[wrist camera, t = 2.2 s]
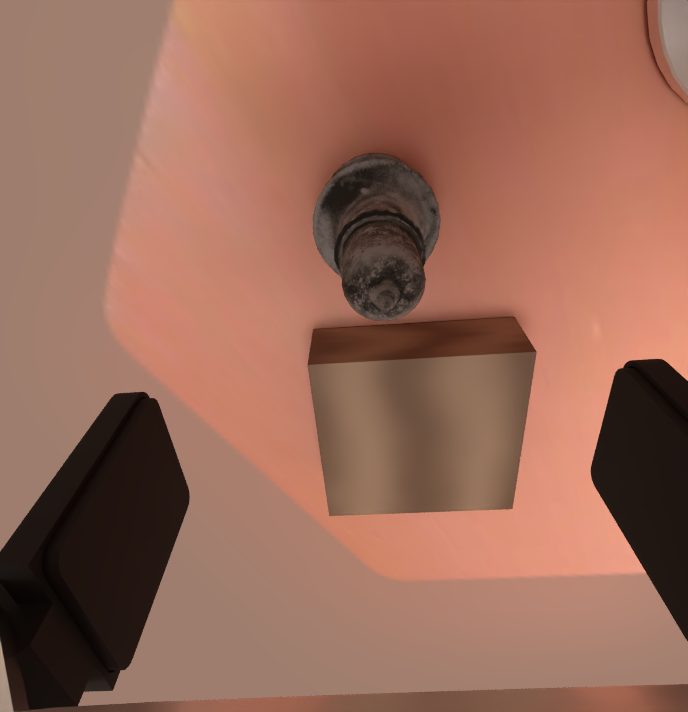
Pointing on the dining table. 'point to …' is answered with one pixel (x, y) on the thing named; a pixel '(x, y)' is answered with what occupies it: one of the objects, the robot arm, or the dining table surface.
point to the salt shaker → (377, 233)
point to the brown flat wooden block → (421, 414)
